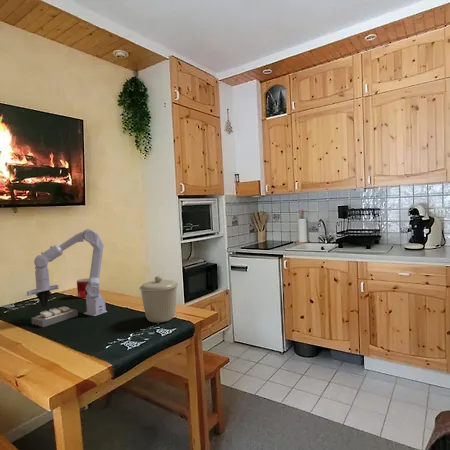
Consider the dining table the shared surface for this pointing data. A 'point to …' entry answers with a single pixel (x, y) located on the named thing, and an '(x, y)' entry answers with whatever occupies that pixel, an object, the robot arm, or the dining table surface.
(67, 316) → the switch unit
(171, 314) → the canister
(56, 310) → the switch
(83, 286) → the canned food
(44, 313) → the switch
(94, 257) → the robot arm
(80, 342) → the dining table surface
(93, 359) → the dining table surface
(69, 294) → the dining table surface
